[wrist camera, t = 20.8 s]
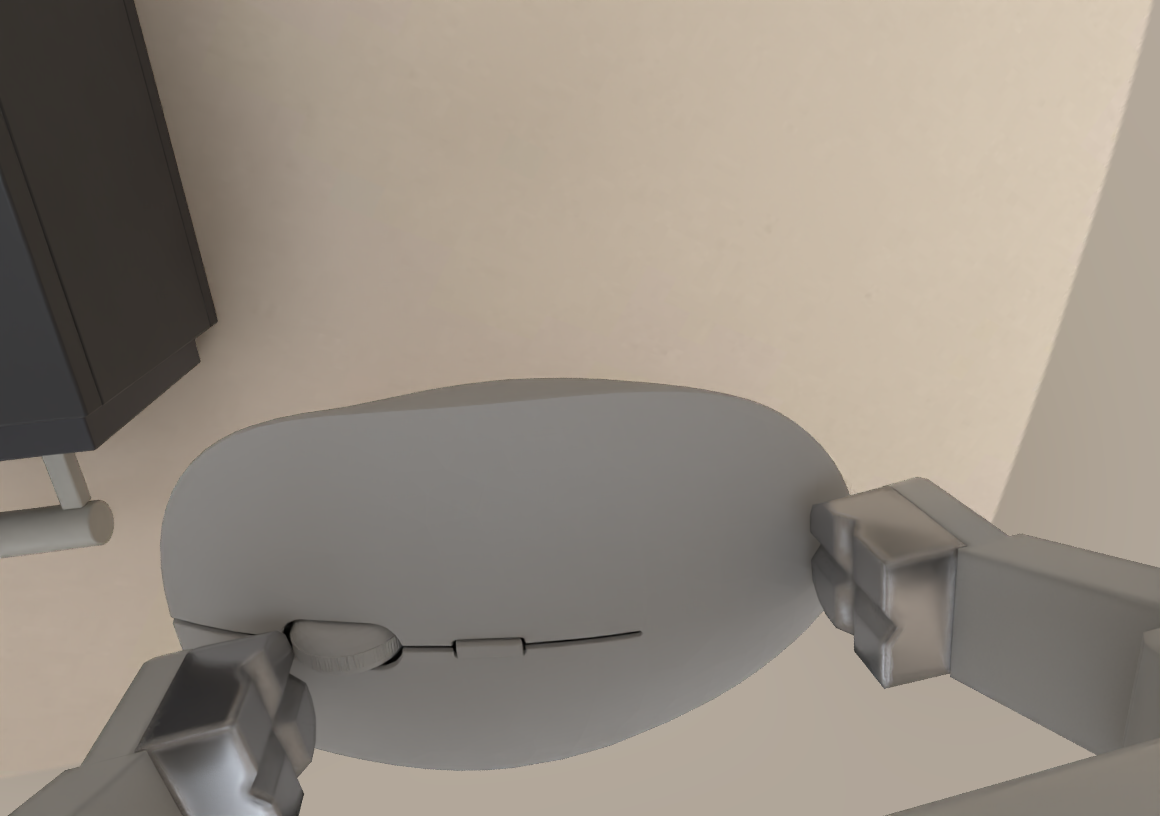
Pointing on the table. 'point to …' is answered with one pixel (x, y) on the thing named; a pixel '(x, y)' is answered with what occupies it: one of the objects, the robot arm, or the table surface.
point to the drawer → (77, 465)
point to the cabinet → (87, 213)
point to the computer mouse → (504, 561)
